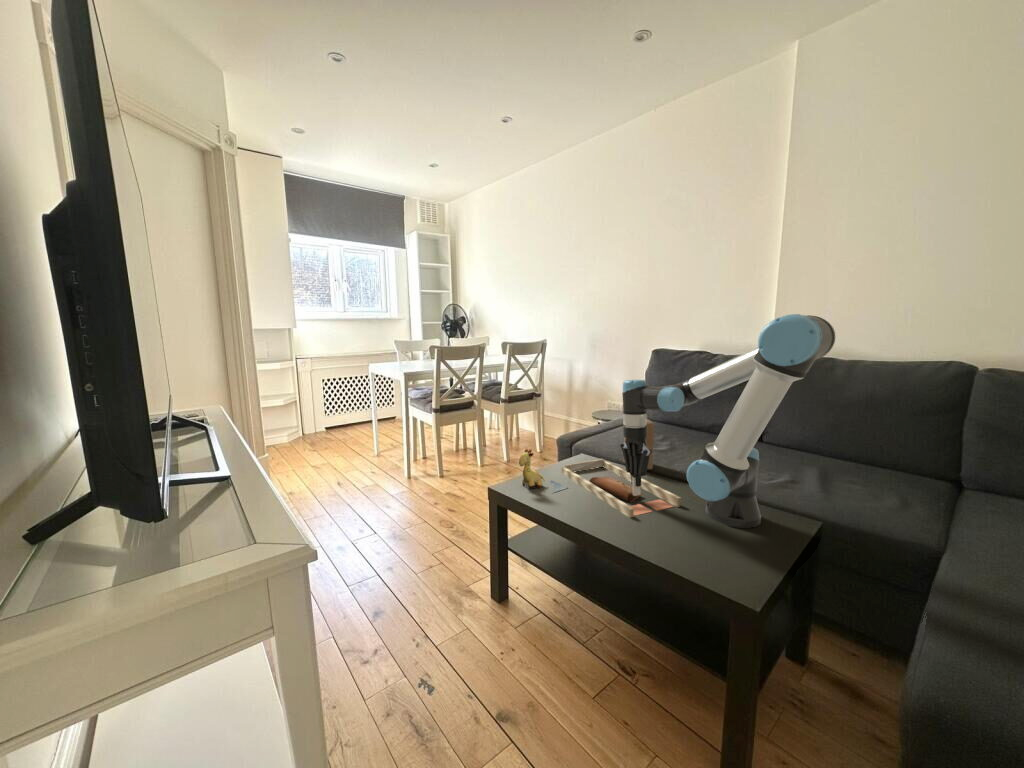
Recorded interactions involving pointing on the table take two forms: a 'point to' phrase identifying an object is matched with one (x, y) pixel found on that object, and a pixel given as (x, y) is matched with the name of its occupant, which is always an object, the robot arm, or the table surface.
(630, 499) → the sunglasses case
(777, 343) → the robot arm
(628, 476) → the wooden tray
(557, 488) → the stuffed giraffe
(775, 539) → the table surface
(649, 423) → the block
